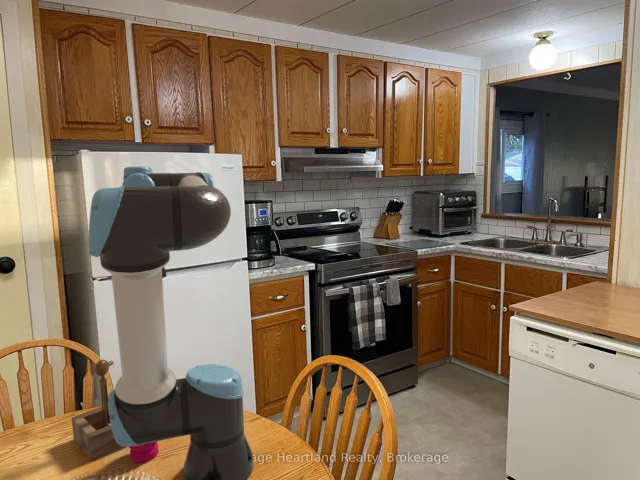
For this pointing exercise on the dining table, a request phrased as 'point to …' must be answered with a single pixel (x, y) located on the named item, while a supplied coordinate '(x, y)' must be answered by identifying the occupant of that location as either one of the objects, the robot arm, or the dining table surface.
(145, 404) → the robot arm
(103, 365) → the wooden tabletop sculpture
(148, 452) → the pepper mill
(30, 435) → the dining table surface
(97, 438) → the box
